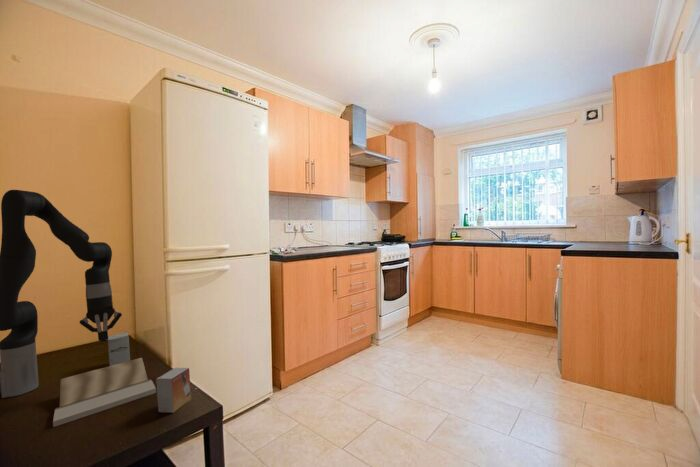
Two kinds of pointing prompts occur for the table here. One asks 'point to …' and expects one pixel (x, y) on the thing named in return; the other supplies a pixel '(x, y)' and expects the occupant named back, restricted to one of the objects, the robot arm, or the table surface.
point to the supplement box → (118, 348)
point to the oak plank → (101, 381)
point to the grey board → (102, 402)
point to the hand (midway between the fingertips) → (103, 341)
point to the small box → (173, 390)
